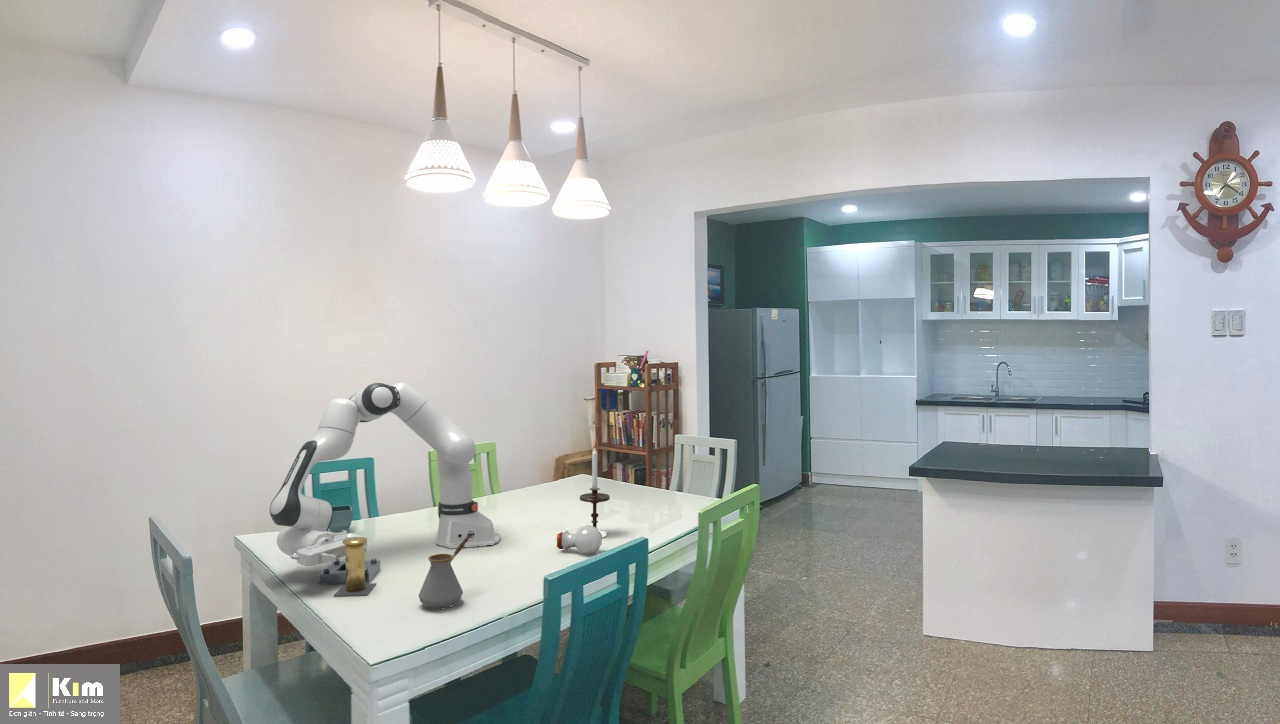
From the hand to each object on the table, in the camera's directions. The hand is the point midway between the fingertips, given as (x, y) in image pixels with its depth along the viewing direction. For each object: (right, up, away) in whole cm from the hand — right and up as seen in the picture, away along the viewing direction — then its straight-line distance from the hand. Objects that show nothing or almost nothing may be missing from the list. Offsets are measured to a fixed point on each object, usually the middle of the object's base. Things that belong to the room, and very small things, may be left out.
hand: (350, 554), depth 203 cm
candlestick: (+66, -9, +57) cm, 88 cm away
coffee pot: (+30, -11, -6) cm, 33 cm away
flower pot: (-29, -8, +60) cm, 67 cm away
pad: (+2, -10, -1) cm, 10 cm away
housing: (-4, -10, +11) cm, 15 cm away
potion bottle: (+62, -9, +36) cm, 72 cm away
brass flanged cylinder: (+2, -10, -1) cm, 10 cm away
